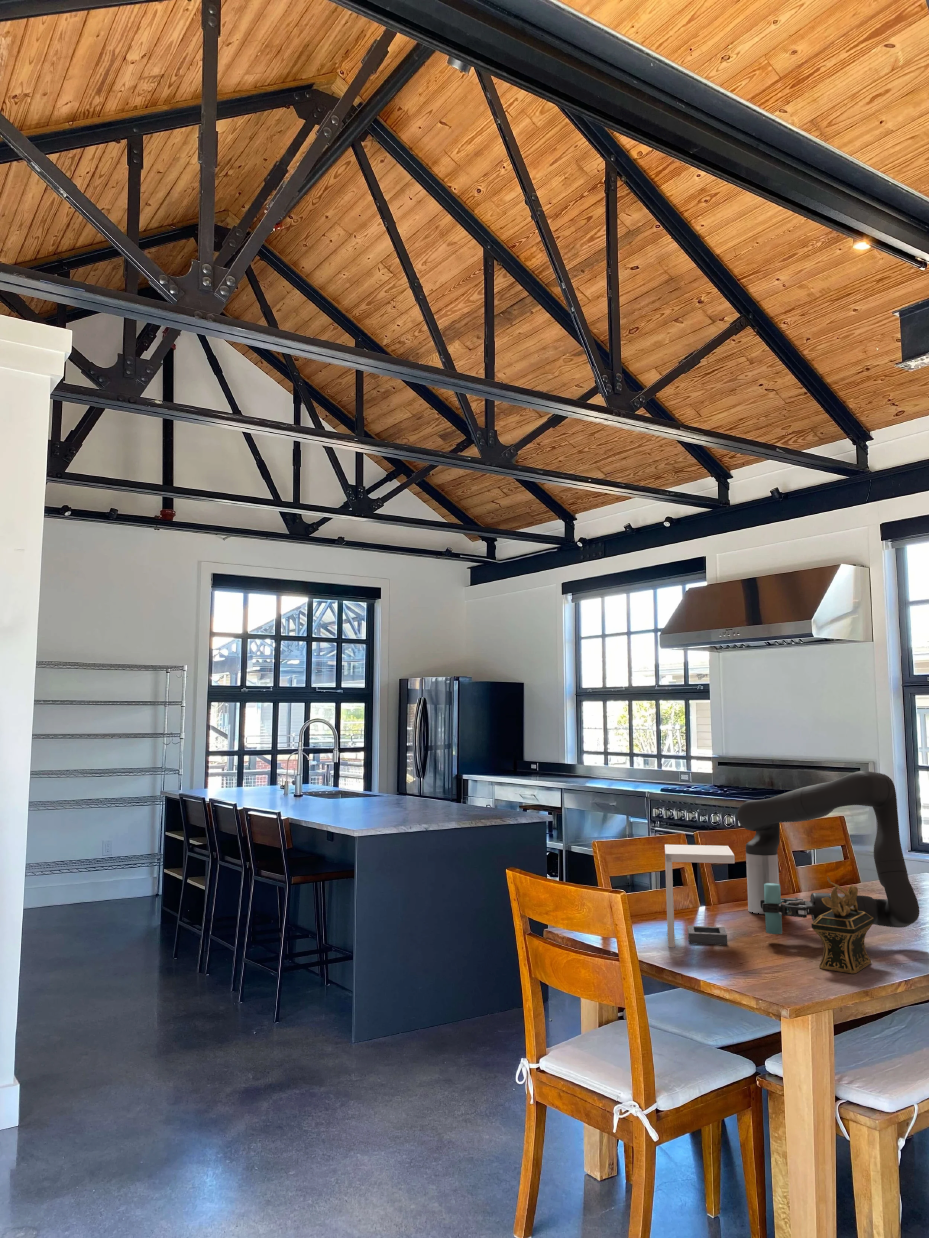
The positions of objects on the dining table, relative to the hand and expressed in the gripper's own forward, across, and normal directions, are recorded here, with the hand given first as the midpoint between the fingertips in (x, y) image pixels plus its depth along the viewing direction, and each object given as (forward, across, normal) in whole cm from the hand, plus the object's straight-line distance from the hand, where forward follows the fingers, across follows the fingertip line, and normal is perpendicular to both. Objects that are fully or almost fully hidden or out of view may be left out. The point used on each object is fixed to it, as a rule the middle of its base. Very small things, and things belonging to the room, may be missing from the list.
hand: (761, 905), depth 229 cm
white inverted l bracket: (+16, 0, +9) cm, 18 cm away
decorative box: (-15, +22, +9) cm, 28 cm away
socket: (+14, 0, +9) cm, 17 cm away
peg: (-3, 0, +6) cm, 7 cm away
